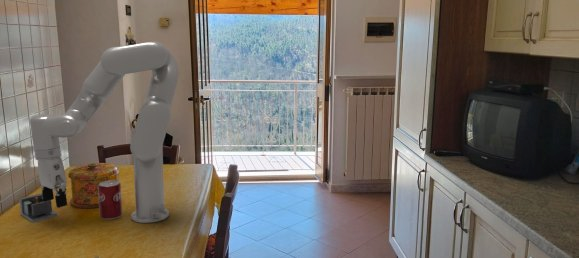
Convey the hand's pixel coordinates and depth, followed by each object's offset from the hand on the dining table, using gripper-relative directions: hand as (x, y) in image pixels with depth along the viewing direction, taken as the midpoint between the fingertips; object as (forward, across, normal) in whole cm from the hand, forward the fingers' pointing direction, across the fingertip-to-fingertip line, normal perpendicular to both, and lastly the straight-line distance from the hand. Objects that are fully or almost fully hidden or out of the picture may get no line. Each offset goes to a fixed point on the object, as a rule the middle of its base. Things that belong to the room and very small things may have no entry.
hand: (55, 203), depth 150 cm
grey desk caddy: (+6, +10, +1) cm, 12 cm away
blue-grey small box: (+5, +11, +1) cm, 12 cm away
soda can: (+8, -8, -15) cm, 18 cm away
